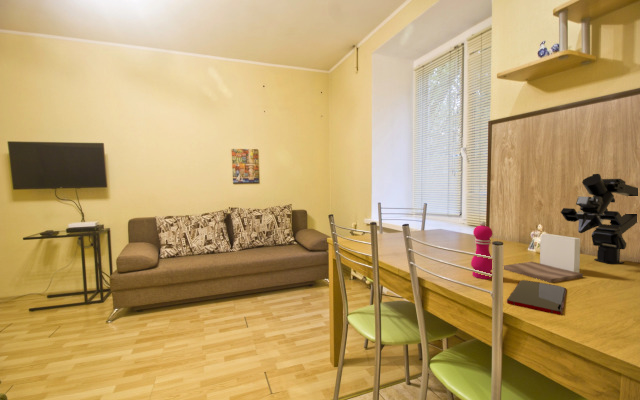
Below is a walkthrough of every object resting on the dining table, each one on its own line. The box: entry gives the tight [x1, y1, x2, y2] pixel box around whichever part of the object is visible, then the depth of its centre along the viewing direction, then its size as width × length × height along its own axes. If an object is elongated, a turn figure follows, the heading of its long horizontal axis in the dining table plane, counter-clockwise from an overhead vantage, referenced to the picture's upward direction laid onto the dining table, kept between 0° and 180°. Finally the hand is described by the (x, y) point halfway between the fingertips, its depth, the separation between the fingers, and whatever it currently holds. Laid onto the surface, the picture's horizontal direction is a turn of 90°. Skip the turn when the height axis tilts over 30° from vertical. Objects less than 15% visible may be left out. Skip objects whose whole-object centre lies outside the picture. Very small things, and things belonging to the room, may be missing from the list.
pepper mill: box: [470, 220, 493, 280], centre depth 107 cm, size 7×7×20 cm
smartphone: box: [506, 279, 567, 316], centre depth 89 cm, size 12×2×25 cm
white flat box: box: [539, 233, 581, 273], centre depth 114 cm, size 3×12×13 cm, turn 19°
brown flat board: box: [503, 261, 584, 284], centre depth 111 cm, size 16×18×1 cm
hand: (579, 232), depth 117 cm, fingers closed
